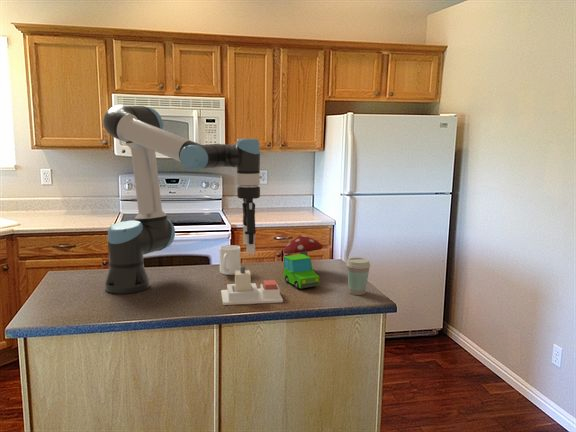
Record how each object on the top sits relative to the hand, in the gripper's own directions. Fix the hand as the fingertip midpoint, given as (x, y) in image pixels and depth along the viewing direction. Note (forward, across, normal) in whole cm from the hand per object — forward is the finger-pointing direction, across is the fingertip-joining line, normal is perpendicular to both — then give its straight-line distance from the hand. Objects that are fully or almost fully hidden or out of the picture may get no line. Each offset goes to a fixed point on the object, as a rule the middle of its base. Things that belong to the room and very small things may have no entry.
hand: (249, 248), depth 166 cm
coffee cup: (+18, +1, -39) cm, 43 cm away
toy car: (+18, +12, -20) cm, 29 cm away
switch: (+14, 0, -7) cm, 16 cm away
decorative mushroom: (+17, +29, -24) cm, 42 cm away
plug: (+16, 0, +2) cm, 16 cm away
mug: (+17, +29, +6) cm, 35 cm away
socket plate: (+17, 0, -1) cm, 17 cm away
